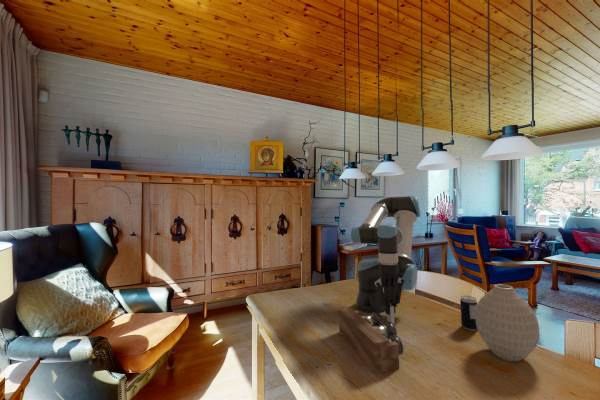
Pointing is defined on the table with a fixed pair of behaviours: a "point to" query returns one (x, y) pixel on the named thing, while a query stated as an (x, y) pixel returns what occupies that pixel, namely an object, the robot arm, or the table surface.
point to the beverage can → (468, 312)
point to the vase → (507, 323)
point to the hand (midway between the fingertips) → (390, 321)
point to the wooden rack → (369, 341)
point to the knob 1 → (374, 319)
